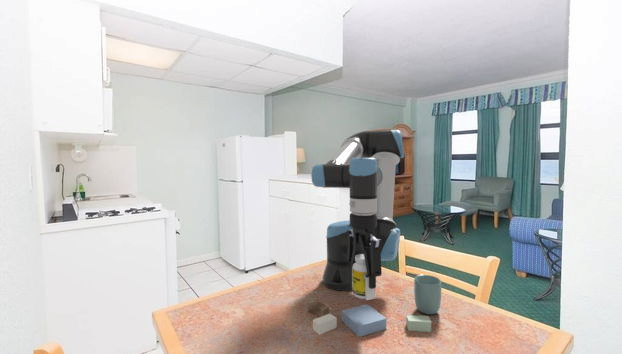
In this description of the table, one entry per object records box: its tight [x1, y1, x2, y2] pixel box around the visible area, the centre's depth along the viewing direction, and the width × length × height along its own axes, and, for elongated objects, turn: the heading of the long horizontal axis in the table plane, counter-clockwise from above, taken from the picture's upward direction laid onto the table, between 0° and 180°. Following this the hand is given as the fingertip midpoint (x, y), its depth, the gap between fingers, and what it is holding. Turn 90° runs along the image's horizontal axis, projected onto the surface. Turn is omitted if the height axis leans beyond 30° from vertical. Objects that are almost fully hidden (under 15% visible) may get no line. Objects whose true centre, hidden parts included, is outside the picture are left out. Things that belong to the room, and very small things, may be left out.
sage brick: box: [405, 314, 432, 333], centre depth 84 cm, size 6×3×3 cm, turn 84°
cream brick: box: [312, 313, 338, 336], centre depth 84 cm, size 6×3×3 cm, turn 124°
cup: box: [413, 274, 442, 315], centre depth 92 cm, size 8×8×10 cm
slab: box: [341, 303, 387, 338], centre depth 86 cm, size 9×9×3 cm
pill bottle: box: [352, 254, 367, 300], centre depth 85 cm, size 6×6×11 cm
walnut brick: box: [307, 299, 330, 318], centre depth 92 cm, size 6×3×3 cm, turn 46°
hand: (363, 293), depth 85 cm, fingers closed on pill bottle, 6 cm apart
